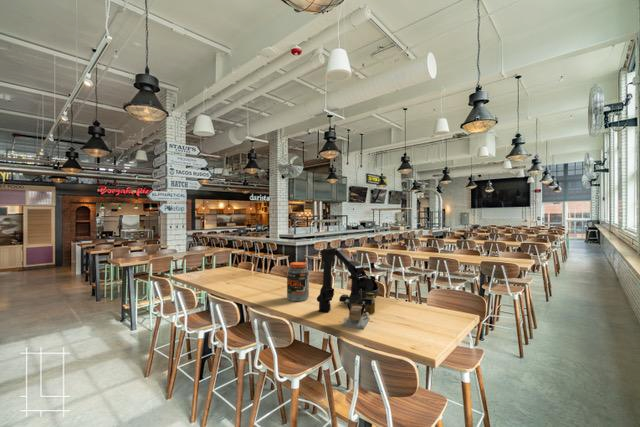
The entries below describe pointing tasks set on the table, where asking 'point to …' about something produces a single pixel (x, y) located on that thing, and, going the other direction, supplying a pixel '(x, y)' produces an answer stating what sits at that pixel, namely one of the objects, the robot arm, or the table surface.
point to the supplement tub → (298, 281)
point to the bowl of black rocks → (374, 290)
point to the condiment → (370, 308)
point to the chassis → (356, 322)
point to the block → (355, 313)
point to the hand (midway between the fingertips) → (356, 314)
